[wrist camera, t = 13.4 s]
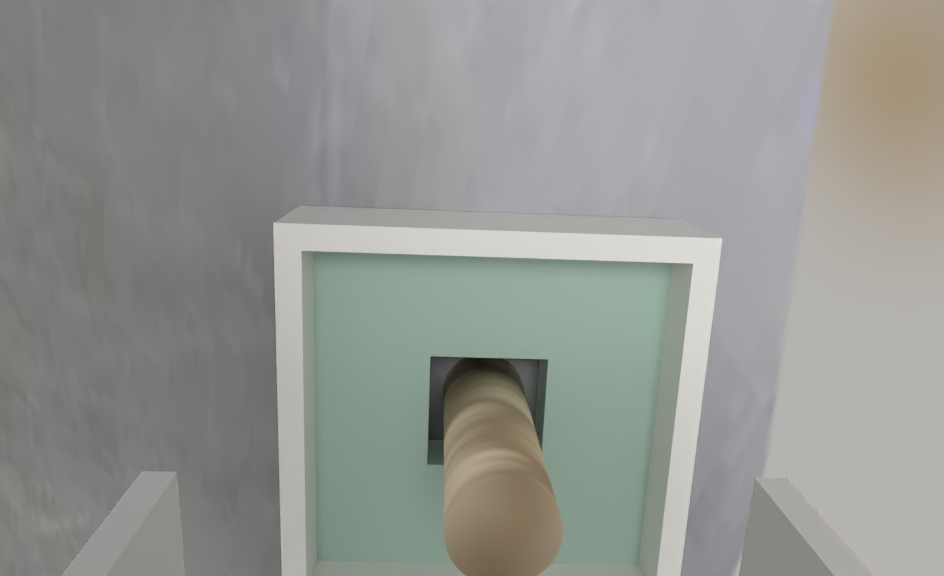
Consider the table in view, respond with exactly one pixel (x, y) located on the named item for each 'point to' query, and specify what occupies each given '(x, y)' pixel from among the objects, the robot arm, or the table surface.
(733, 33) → the table surface
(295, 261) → the bore box
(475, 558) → the peg
